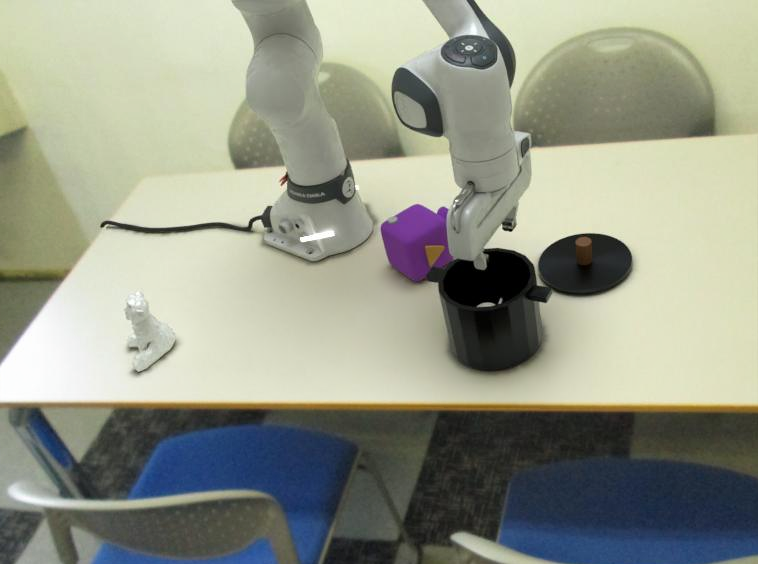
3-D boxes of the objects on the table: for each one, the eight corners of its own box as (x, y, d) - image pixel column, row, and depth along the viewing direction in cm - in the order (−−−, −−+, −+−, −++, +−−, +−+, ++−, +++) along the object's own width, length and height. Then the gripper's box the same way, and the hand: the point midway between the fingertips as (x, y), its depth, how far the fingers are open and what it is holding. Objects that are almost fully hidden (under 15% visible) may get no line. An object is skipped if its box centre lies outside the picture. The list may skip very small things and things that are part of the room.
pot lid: (614, 303, 130) (613, 278, 126) (524, 287, 136) (521, 262, 133) (644, 245, 138) (644, 220, 134) (558, 233, 145) (556, 208, 141)
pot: (536, 384, 121) (528, 321, 112) (421, 356, 129) (405, 297, 120) (571, 321, 128) (567, 258, 120) (460, 299, 137) (449, 239, 128)
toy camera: (474, 247, 147) (466, 200, 139) (425, 289, 141) (414, 242, 134) (431, 231, 153) (421, 185, 145) (382, 271, 147) (369, 225, 140)
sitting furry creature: (129, 343, 146) (97, 292, 137) (174, 325, 147) (146, 273, 139) (136, 374, 140) (104, 323, 131) (183, 355, 141) (154, 302, 132)
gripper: (471, 210, 102) (484, 295, 111) (536, 128, 113) (543, 211, 123) (428, 203, 104) (445, 286, 114) (495, 124, 115) (505, 206, 125)
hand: (496, 247), depth 118 cm, fingers open, 8 cm apart
